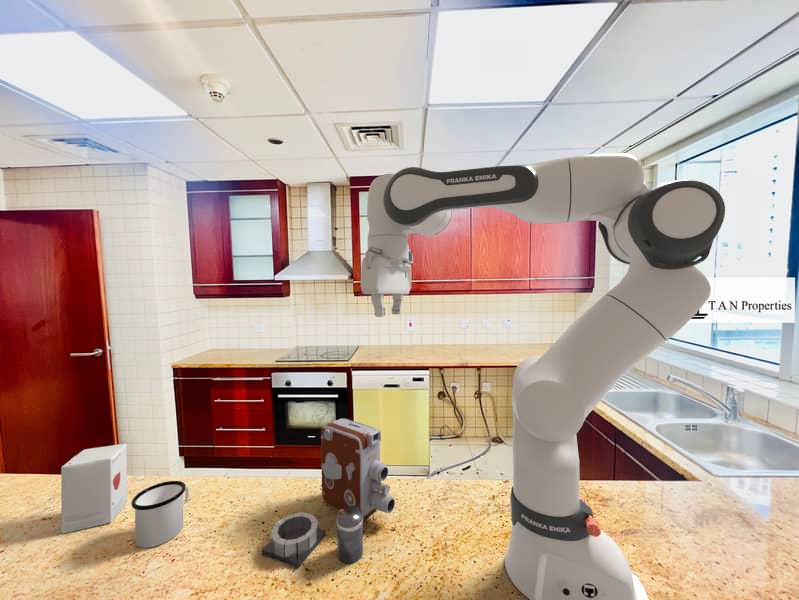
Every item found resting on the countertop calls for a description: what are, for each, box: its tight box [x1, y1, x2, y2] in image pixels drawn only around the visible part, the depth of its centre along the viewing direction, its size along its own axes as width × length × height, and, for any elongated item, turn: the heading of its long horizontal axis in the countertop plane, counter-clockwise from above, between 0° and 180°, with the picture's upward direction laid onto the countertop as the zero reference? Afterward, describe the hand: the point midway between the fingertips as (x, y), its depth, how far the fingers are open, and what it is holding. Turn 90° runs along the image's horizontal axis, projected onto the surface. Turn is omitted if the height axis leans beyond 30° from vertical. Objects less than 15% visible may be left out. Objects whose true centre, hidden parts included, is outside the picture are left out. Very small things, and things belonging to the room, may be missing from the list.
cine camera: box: [320, 417, 396, 521], centre depth 76 cm, size 9×19×20 cm, turn 53°
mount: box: [261, 511, 327, 569], centre depth 65 cm, size 9×9×4 cm
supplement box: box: [60, 443, 128, 534], centre depth 75 cm, size 9×9×15 cm
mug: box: [131, 480, 190, 549], centre depth 70 cm, size 12×10×9 cm
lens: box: [336, 506, 364, 565], centre depth 63 cm, size 5×5×8 cm
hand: (388, 315), depth 69 cm, fingers open, 8 cm apart
